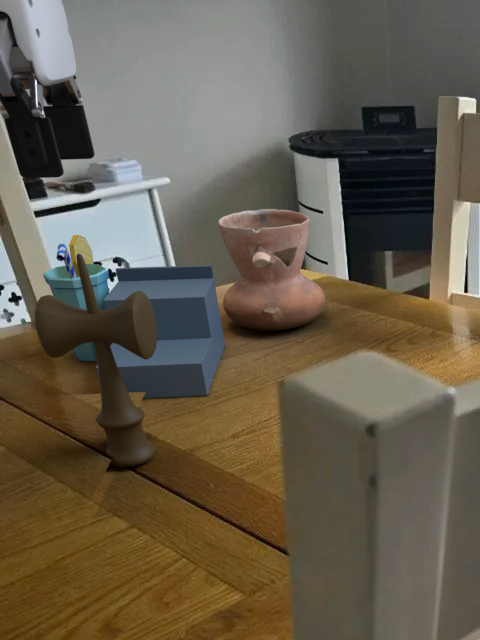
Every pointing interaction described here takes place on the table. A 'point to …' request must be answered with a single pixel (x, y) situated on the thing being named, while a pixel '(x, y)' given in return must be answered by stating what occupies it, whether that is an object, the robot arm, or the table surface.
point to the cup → (78, 284)
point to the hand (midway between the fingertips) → (60, 167)
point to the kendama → (105, 358)
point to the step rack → (172, 330)
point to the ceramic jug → (270, 270)
